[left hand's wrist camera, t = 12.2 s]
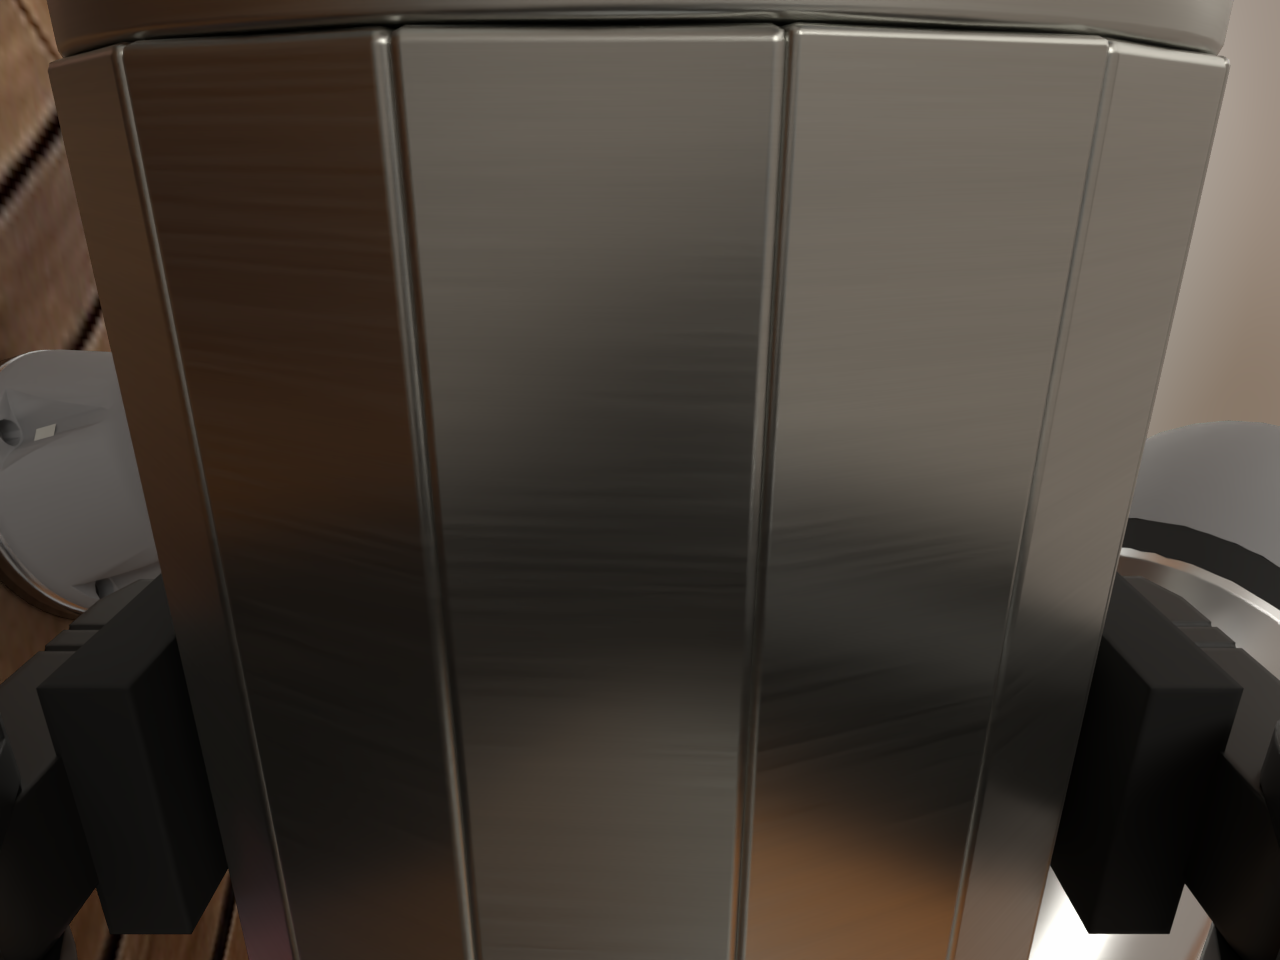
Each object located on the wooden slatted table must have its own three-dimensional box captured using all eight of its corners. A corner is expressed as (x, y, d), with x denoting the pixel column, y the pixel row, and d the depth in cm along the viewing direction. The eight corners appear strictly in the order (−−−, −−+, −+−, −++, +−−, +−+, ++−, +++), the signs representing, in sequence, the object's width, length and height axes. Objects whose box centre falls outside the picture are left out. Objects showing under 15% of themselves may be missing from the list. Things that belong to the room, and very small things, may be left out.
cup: (1182, 25, 9) (1022, 807, 13) (500, 54, 12) (533, 666, 16) (1502, -352, 2) (939, 1631, 6) (-276, -49, 5) (102, 1078, 9)
